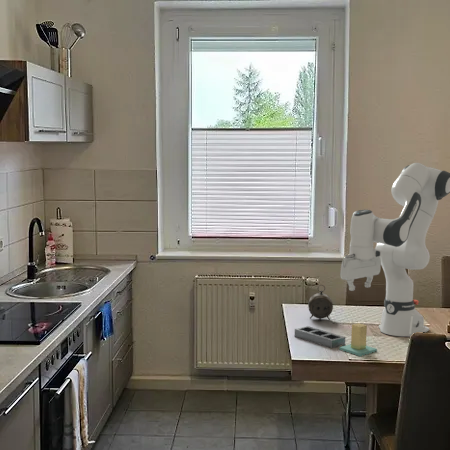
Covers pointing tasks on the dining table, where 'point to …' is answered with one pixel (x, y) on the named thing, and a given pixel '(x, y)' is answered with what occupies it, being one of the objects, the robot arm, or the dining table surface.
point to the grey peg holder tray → (320, 337)
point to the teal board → (358, 352)
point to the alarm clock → (320, 305)
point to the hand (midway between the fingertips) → (359, 288)
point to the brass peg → (358, 336)
